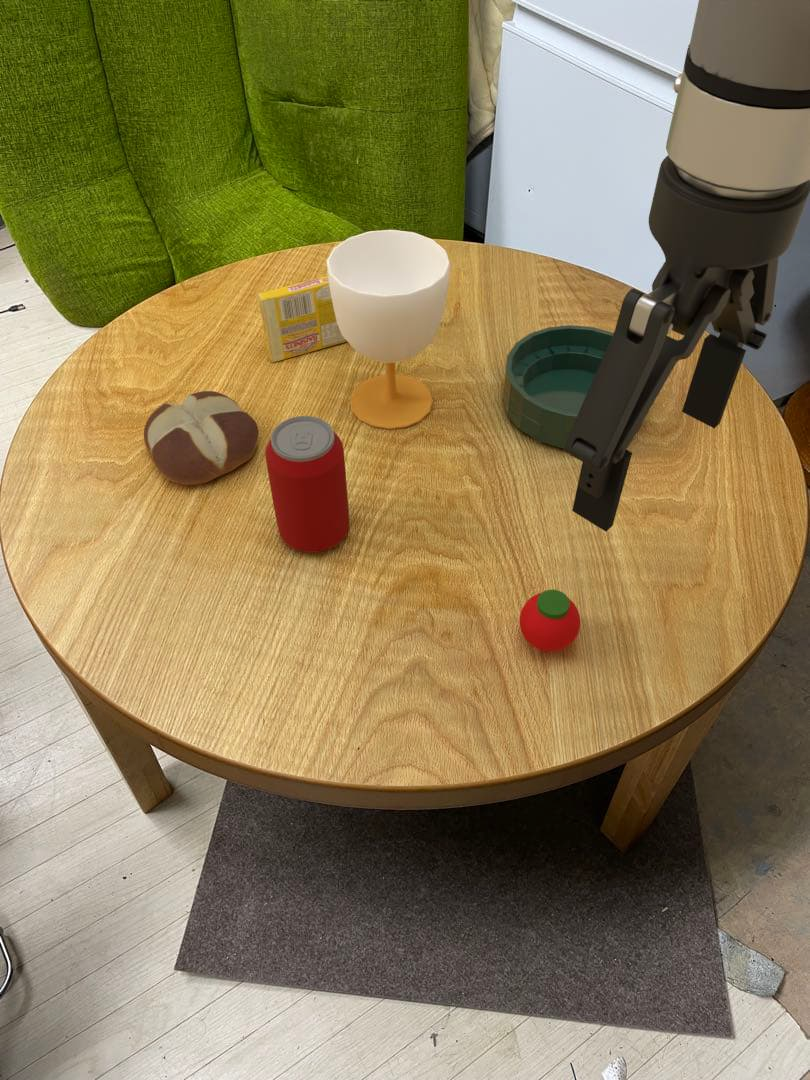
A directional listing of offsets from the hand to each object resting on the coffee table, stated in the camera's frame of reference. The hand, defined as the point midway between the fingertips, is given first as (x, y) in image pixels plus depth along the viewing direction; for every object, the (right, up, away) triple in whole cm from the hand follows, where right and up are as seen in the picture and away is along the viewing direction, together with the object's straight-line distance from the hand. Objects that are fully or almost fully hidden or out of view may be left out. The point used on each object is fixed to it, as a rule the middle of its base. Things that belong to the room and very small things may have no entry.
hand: (649, 465), depth 60 cm
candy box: (-25, +18, +42) cm, 52 cm away
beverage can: (-26, -4, +22) cm, 34 cm away
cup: (-18, +10, +35) cm, 40 cm away
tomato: (-5, -14, +14) cm, 20 cm away
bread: (-38, +4, +30) cm, 48 cm away
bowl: (+1, +9, +34) cm, 35 cm away
